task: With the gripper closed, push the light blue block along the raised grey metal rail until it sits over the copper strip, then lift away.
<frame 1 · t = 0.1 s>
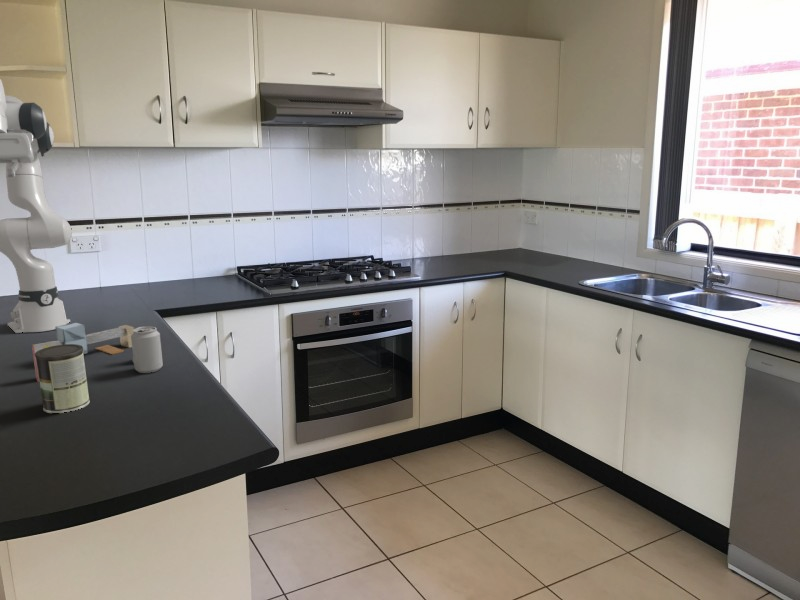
rail: (93, 354, 203), on the countertop
coffee can: (67, 406, 161), on the countertop
can: (149, 370, 187), on the countertop
flask: (145, 361, 195), on the countertop
light blue block: (74, 359, 198), touching rail
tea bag: (50, 378, 182), on the countertop
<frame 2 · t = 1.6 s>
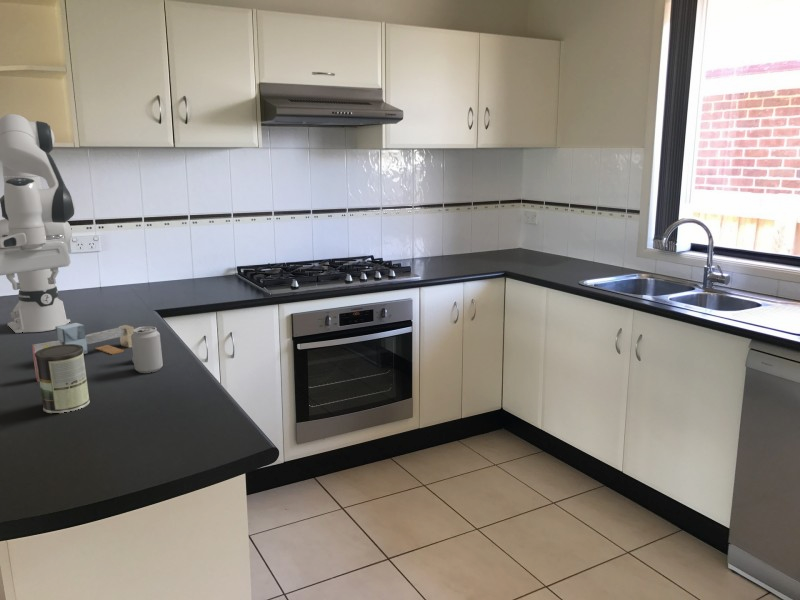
hand: (34, 286, 187), 23 cm above the countertop, tool pointing down, fingers open, 8 cm apart
nothing on the countertop moved.
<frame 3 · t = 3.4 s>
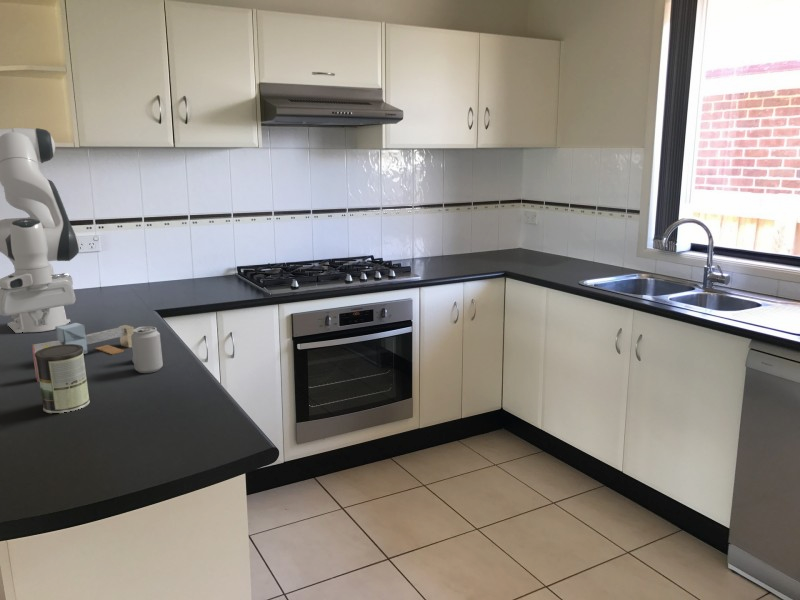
hand: (40, 325, 189), 12 cm above the countertop, tool pointing down, fingers closed
nothing on the countertop moved.
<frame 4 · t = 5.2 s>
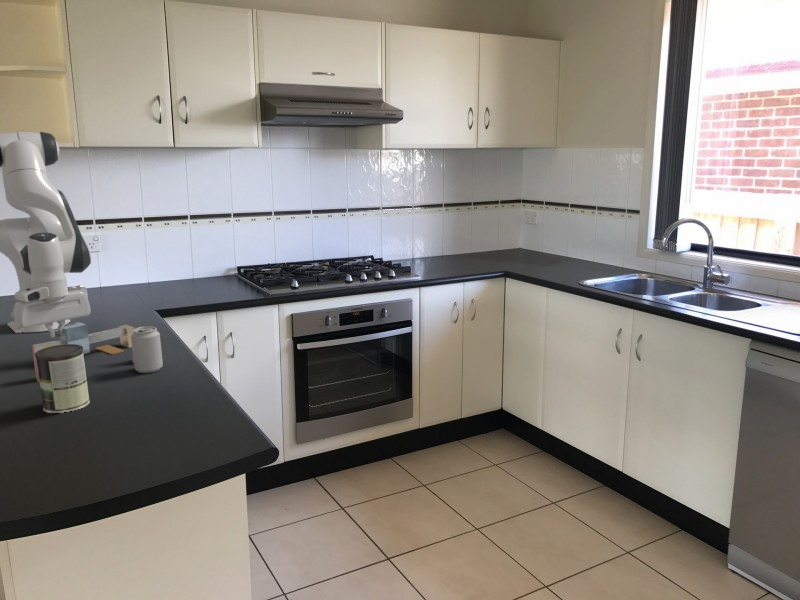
hand: (56, 336, 193), 8 cm above the countertop, tool pointing down, fingers closed
light blue block: (76, 359, 199), touching gripper
everything else where it was.
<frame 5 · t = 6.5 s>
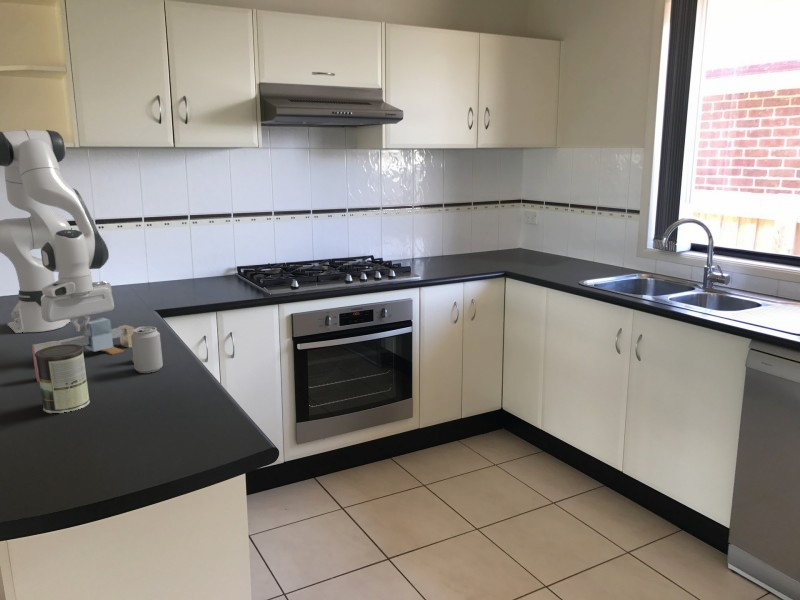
hand: (81, 330, 199), 8 cm above the countertop, tool pointing down, fingers closed
light blue block: (100, 353, 204), touching gripper, rail
everything else where it was.
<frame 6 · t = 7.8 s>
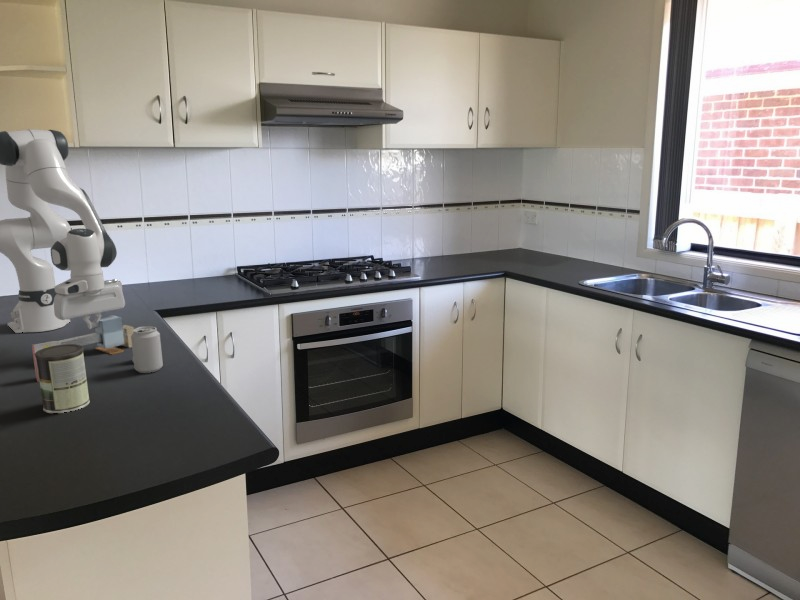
hand: (93, 328, 201), 8 cm above the countertop, tool pointing down, fingers closed
light blue block: (111, 350, 206), touching gripper, rail
everything else where it was.
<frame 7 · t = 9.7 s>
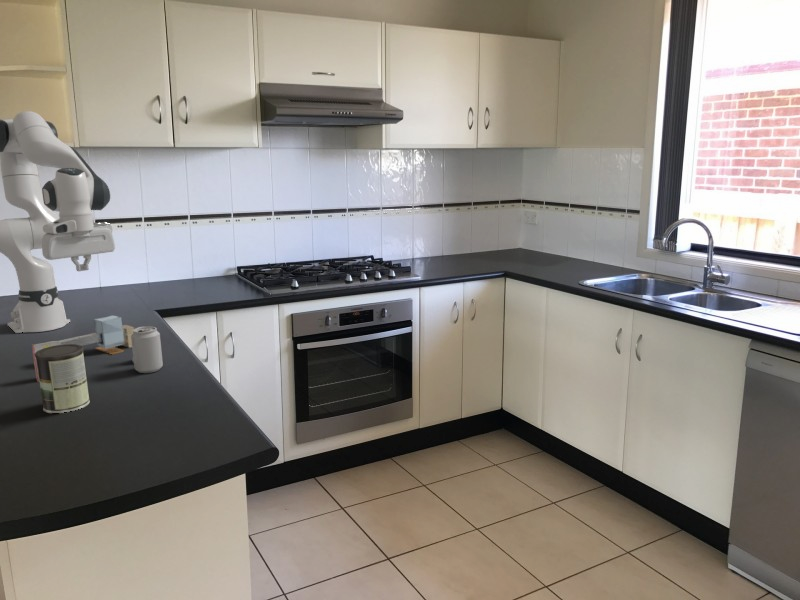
hand: (82, 270, 198), 26 cm above the countertop, tool pointing down, fingers closed
light blue block: (111, 350, 206), touching rail
everything else where it was.
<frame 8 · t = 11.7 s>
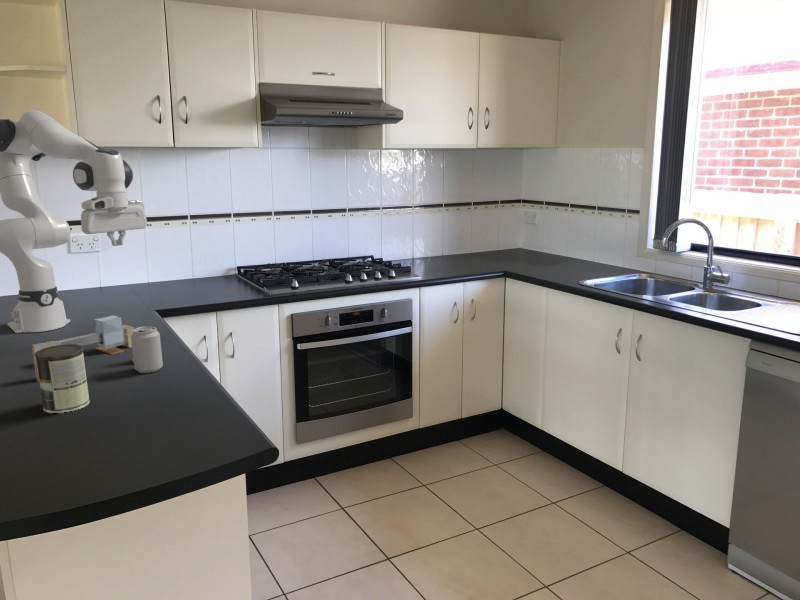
hand: (117, 245, 211), 31 cm above the countertop, tool pointing down, fingers closed
nothing on the countertop moved.
at the end: light blue block 0.5 cm from the target spot on the rail, point 0.0 cm above the rail's base; light blue block tilted 0° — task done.
